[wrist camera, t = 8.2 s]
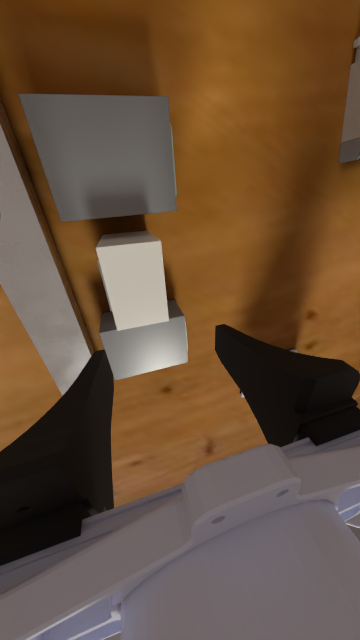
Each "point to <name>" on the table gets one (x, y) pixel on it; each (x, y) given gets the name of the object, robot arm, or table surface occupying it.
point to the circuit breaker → (352, 113)
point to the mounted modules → (113, 192)
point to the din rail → (37, 270)
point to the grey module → (133, 278)
